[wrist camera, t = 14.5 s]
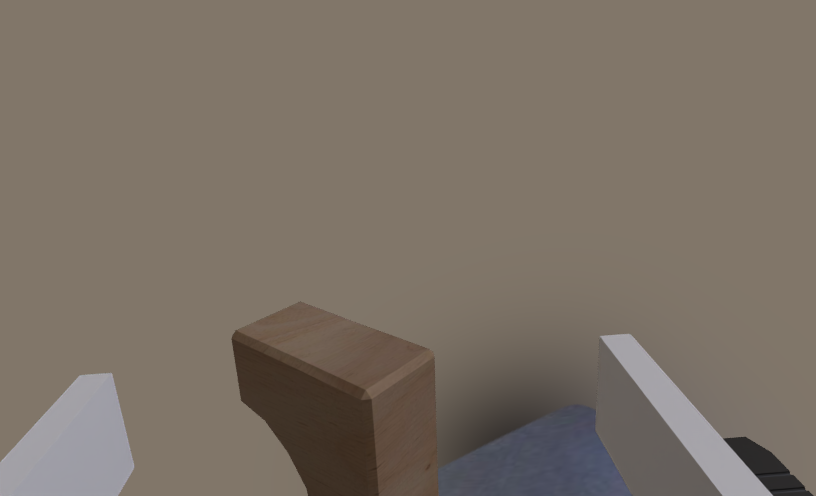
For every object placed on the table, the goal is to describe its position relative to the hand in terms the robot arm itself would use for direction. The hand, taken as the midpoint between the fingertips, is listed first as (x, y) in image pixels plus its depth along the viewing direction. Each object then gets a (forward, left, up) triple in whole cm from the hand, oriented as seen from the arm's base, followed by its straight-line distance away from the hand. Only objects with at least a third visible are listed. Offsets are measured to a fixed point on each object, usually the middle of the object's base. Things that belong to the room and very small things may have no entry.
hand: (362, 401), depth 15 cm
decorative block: (-2, +17, -27) cm, 32 cm away
